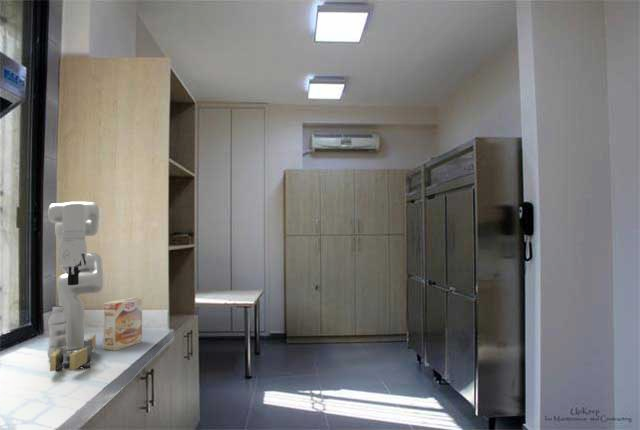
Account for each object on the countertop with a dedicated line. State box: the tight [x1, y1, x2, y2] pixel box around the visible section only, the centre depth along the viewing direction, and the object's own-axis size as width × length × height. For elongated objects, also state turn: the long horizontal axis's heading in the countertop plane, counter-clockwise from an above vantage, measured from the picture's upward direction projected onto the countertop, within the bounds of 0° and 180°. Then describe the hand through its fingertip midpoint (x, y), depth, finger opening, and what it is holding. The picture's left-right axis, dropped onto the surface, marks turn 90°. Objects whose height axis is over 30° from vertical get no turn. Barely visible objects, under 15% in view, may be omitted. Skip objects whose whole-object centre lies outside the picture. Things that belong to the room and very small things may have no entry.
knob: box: [84, 334, 97, 351], centre depth 168 cm, size 11×3×8 cm, turn 17°
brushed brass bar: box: [49, 348, 64, 372], centre depth 148 cm, size 11×3×8 cm, turn 21°
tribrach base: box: [62, 348, 96, 370], centre depth 157 cm, size 9×10×5 cm
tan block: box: [69, 346, 92, 371], centre depth 150 cm, size 11×3×8 cm, turn 1°
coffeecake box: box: [102, 297, 143, 351], centre depth 185 cm, size 15×7×20 cm, turn 158°
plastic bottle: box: [47, 305, 69, 360], centre depth 166 cm, size 6×7×20 cm
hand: (73, 284), depth 161 cm, fingers closed
